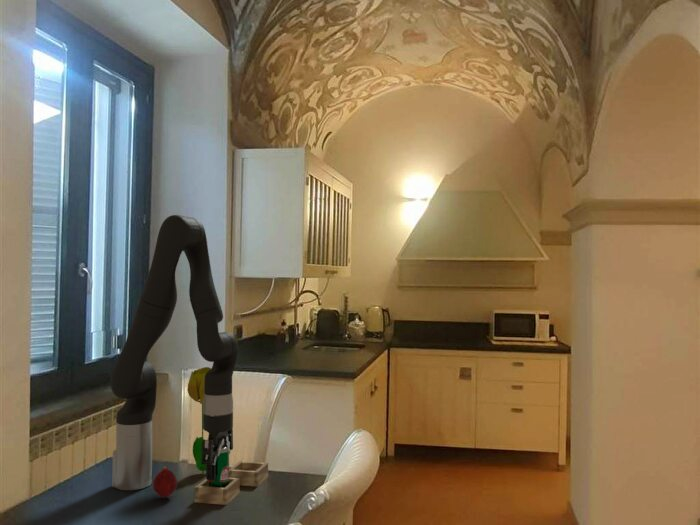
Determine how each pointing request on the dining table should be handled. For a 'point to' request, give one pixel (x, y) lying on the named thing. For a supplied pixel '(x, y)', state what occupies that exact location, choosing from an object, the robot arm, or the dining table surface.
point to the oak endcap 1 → (217, 492)
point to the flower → (197, 394)
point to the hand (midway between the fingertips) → (217, 474)
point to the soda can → (221, 469)
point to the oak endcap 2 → (249, 473)
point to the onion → (165, 483)
